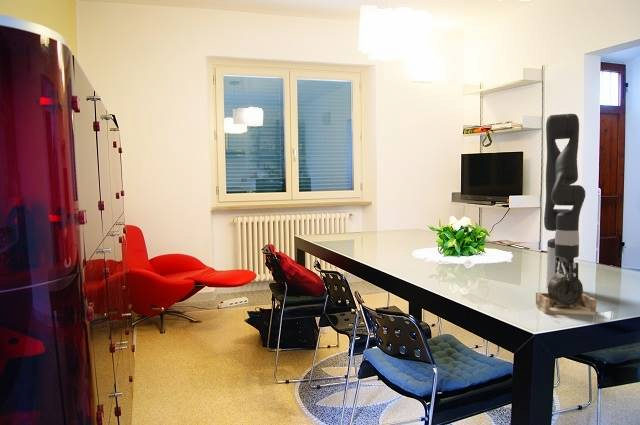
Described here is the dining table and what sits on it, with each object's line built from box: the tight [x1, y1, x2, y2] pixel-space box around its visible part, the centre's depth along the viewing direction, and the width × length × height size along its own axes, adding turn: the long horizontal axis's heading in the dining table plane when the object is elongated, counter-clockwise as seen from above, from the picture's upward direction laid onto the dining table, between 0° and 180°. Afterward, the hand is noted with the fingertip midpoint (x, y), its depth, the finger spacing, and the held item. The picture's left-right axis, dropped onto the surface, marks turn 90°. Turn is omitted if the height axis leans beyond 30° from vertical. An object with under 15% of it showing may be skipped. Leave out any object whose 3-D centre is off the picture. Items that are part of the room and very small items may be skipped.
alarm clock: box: [547, 273, 584, 309], centre depth 175 cm, size 11×5×16 cm, turn 97°
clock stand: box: [535, 292, 597, 316], centre depth 176 cm, size 10×16×5 cm, turn 85°
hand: (565, 289), depth 176 cm, fingers open, 8 cm apart
